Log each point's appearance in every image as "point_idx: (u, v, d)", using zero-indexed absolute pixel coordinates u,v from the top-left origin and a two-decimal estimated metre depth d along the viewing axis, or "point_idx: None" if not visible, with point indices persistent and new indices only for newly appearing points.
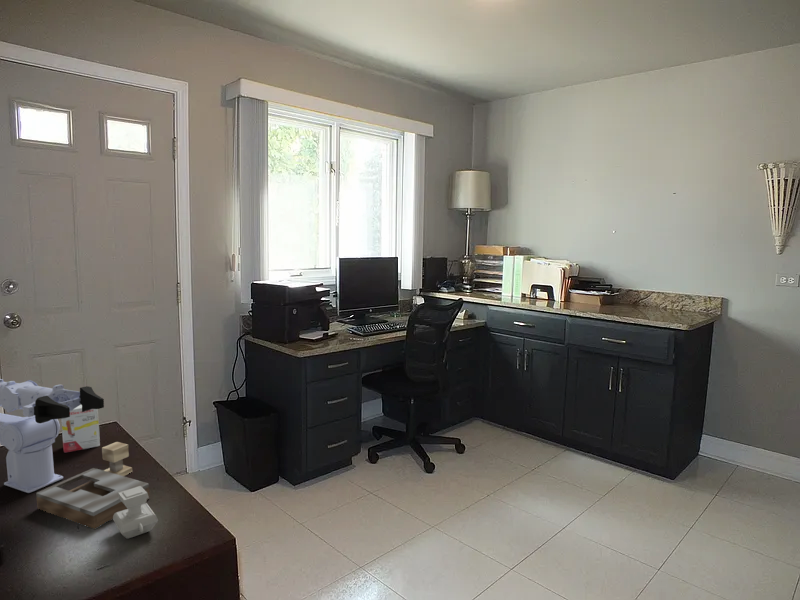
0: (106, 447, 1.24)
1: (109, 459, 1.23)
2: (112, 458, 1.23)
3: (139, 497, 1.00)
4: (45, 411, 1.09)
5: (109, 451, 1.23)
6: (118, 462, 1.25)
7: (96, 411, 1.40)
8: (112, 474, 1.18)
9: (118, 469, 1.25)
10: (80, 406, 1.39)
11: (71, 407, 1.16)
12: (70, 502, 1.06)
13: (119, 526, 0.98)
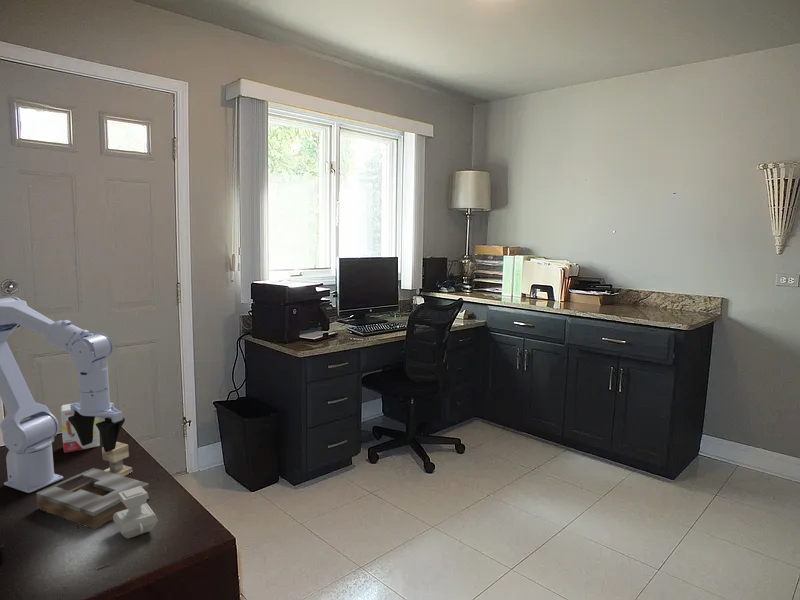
0: None
1: (109, 459, 1.23)
2: (112, 458, 1.23)
3: (139, 497, 1.00)
4: None
5: (109, 451, 1.23)
6: (118, 462, 1.25)
7: None
8: (112, 474, 1.18)
9: (118, 469, 1.25)
10: None
11: None
12: (70, 502, 1.06)
13: (119, 526, 0.98)
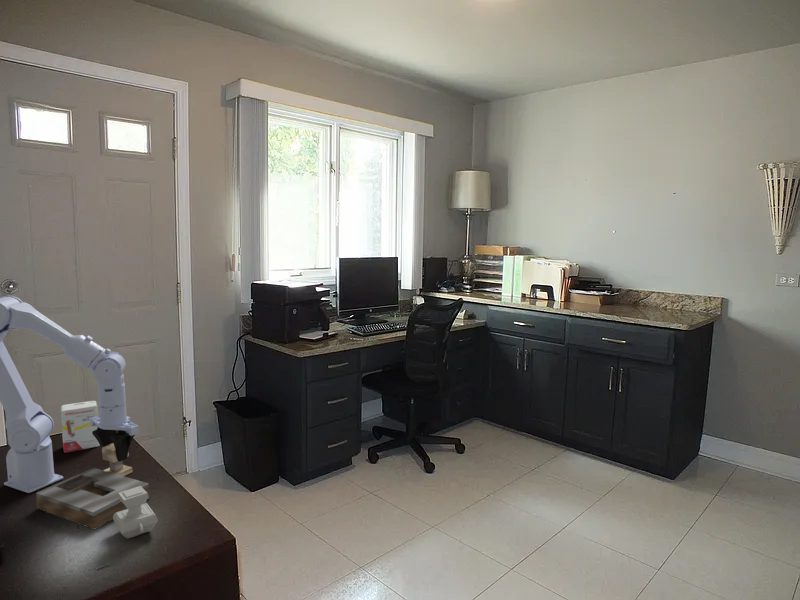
0: (106, 447, 1.24)
1: (109, 459, 1.23)
2: (112, 458, 1.23)
3: (139, 497, 1.00)
4: None
5: (109, 451, 1.23)
6: (118, 462, 1.25)
7: (96, 411, 1.40)
8: (112, 474, 1.18)
9: (118, 469, 1.25)
10: (80, 406, 1.39)
11: None
12: (70, 502, 1.06)
13: (119, 526, 0.98)
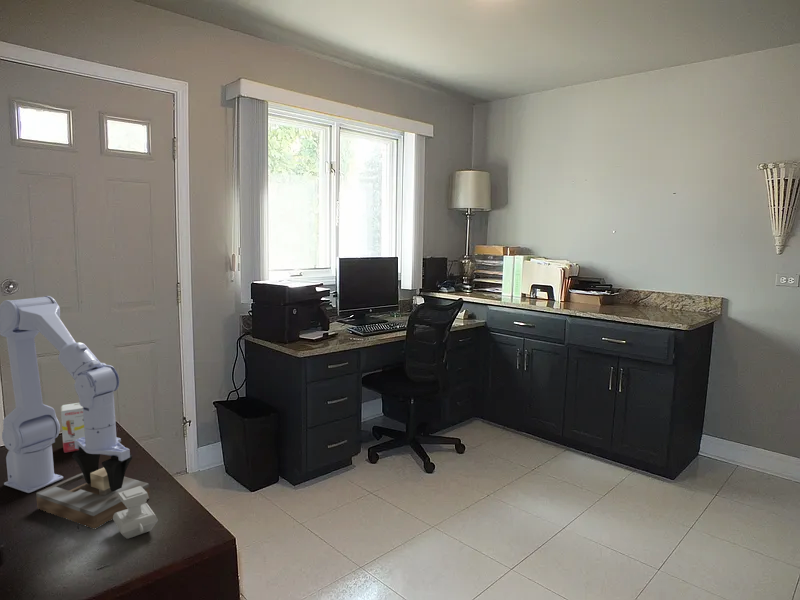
0: (95, 472, 1.09)
1: (98, 486, 1.08)
2: (102, 485, 1.08)
3: (139, 497, 1.00)
4: None
5: (98, 477, 1.08)
6: (109, 489, 1.10)
7: None
8: None
9: None
10: (80, 406, 1.39)
11: None
12: (70, 502, 1.06)
13: (119, 526, 0.98)
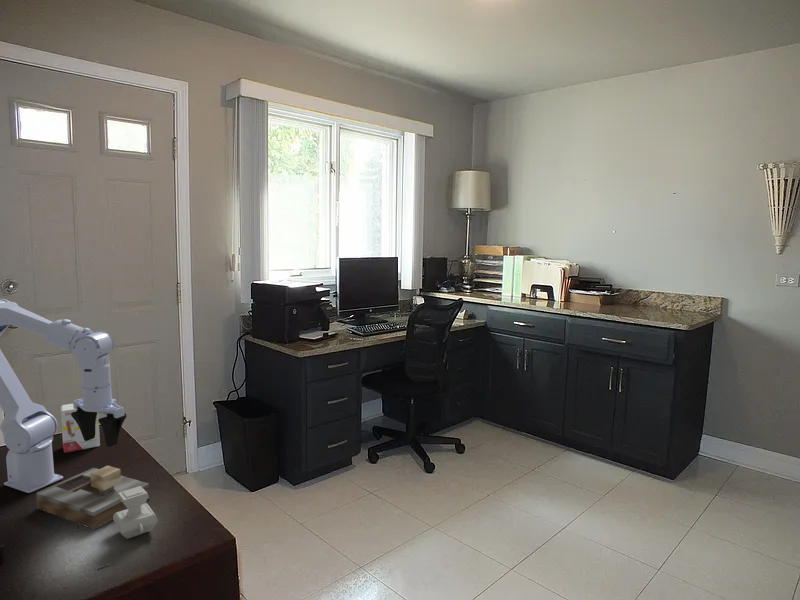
0: (95, 472, 1.09)
1: (98, 486, 1.08)
2: (102, 485, 1.08)
3: (139, 497, 1.00)
4: None
5: (98, 477, 1.08)
6: (109, 489, 1.10)
7: None
8: None
9: None
10: None
11: None
12: (70, 502, 1.06)
13: (119, 526, 0.98)
